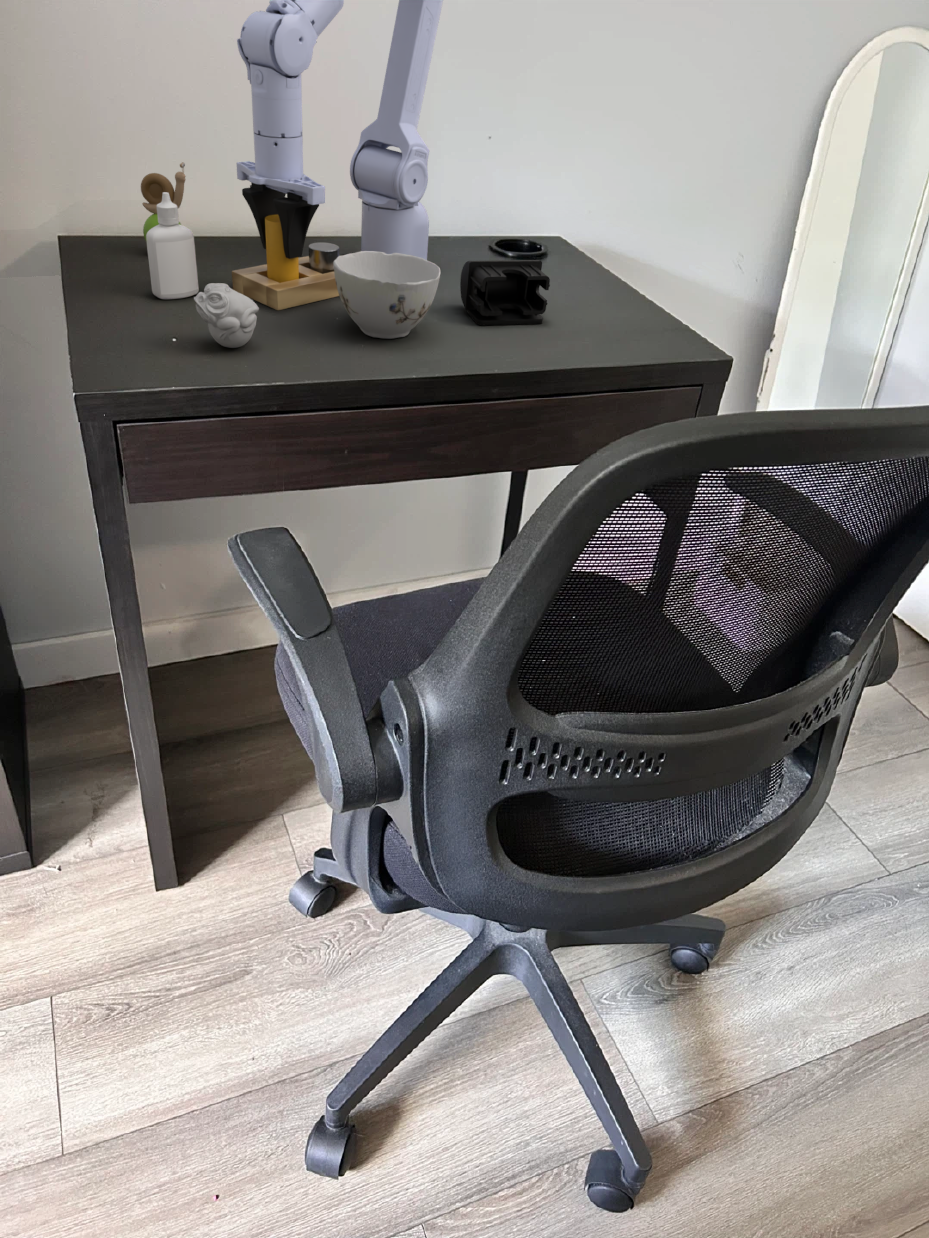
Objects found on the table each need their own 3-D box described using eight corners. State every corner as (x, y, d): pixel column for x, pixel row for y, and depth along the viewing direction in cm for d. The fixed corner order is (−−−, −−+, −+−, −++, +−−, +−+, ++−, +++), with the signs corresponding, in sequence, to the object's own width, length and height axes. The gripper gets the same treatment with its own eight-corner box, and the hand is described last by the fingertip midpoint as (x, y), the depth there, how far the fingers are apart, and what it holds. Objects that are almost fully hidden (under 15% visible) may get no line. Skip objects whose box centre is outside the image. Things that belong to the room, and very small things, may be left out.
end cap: (527, 305, 125) (533, 254, 121) (547, 324, 119) (554, 270, 115) (457, 307, 122) (461, 254, 117) (475, 326, 116) (480, 271, 112)
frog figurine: (194, 338, 105) (188, 276, 101) (255, 335, 107) (252, 274, 103) (202, 358, 101) (197, 294, 96) (266, 354, 103) (263, 292, 99)
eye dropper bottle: (198, 300, 115) (189, 198, 108) (152, 300, 114) (139, 196, 107) (199, 289, 118) (190, 189, 111) (153, 288, 117) (141, 187, 110)
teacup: (453, 345, 110) (459, 277, 106) (356, 354, 105) (357, 284, 100) (403, 304, 121) (405, 240, 116) (312, 311, 116) (311, 245, 111)
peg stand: (232, 290, 119) (231, 271, 118) (327, 270, 129) (327, 252, 128) (277, 310, 115) (277, 290, 113) (372, 288, 125) (372, 269, 123)
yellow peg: (285, 273, 121) (283, 213, 116) (305, 281, 119) (304, 220, 114) (261, 278, 118) (258, 217, 114) (280, 286, 116) (278, 224, 112)
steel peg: (325, 278, 126) (325, 240, 123) (345, 286, 124) (345, 248, 121) (303, 283, 124) (302, 245, 121) (322, 291, 122) (322, 252, 119)
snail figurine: (187, 261, 127) (178, 167, 120) (140, 257, 127) (129, 162, 120) (197, 250, 132) (189, 159, 124) (152, 246, 131) (141, 154, 124)
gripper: (212, 124, 110) (221, 242, 118) (290, 148, 102) (294, 272, 111) (260, 121, 114) (265, 235, 122) (338, 143, 107) (338, 263, 115)
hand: (282, 252), depth 117 cm, fingers closed on yellow peg, 4 cm apart
